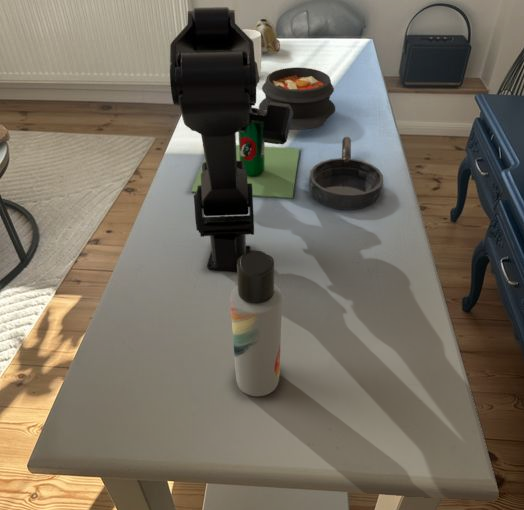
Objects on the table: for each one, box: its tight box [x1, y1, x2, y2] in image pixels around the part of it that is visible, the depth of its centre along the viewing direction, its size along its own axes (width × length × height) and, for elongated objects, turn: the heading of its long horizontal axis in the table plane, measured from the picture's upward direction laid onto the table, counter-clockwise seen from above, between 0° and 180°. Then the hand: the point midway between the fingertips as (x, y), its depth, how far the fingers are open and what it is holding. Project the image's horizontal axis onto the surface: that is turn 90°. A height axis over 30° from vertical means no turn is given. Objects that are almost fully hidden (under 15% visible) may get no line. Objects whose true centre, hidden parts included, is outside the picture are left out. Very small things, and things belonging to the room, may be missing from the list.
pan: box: [308, 157, 384, 210], centre depth 94 cm, size 14×14×3 cm
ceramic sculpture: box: [253, 16, 281, 54], centre depth 146 cm, size 11×9×15 cm
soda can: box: [238, 106, 266, 177], centre depth 95 cm, size 5×5×12 cm
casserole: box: [258, 67, 336, 131], centre depth 115 cm, size 25×19×8 cm
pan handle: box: [341, 136, 352, 166], centre depth 101 cm, size 11×2×2 cm, turn 173°
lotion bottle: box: [230, 250, 283, 397], centre depth 56 cm, size 6×6×20 cm
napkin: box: [190, 145, 301, 199], centre depth 101 cm, size 20×20×1 cm
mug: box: [241, 28, 262, 78], centre depth 133 cm, size 12×8×10 cm
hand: (250, 136), depth 94 cm, fingers open, 9 cm apart
